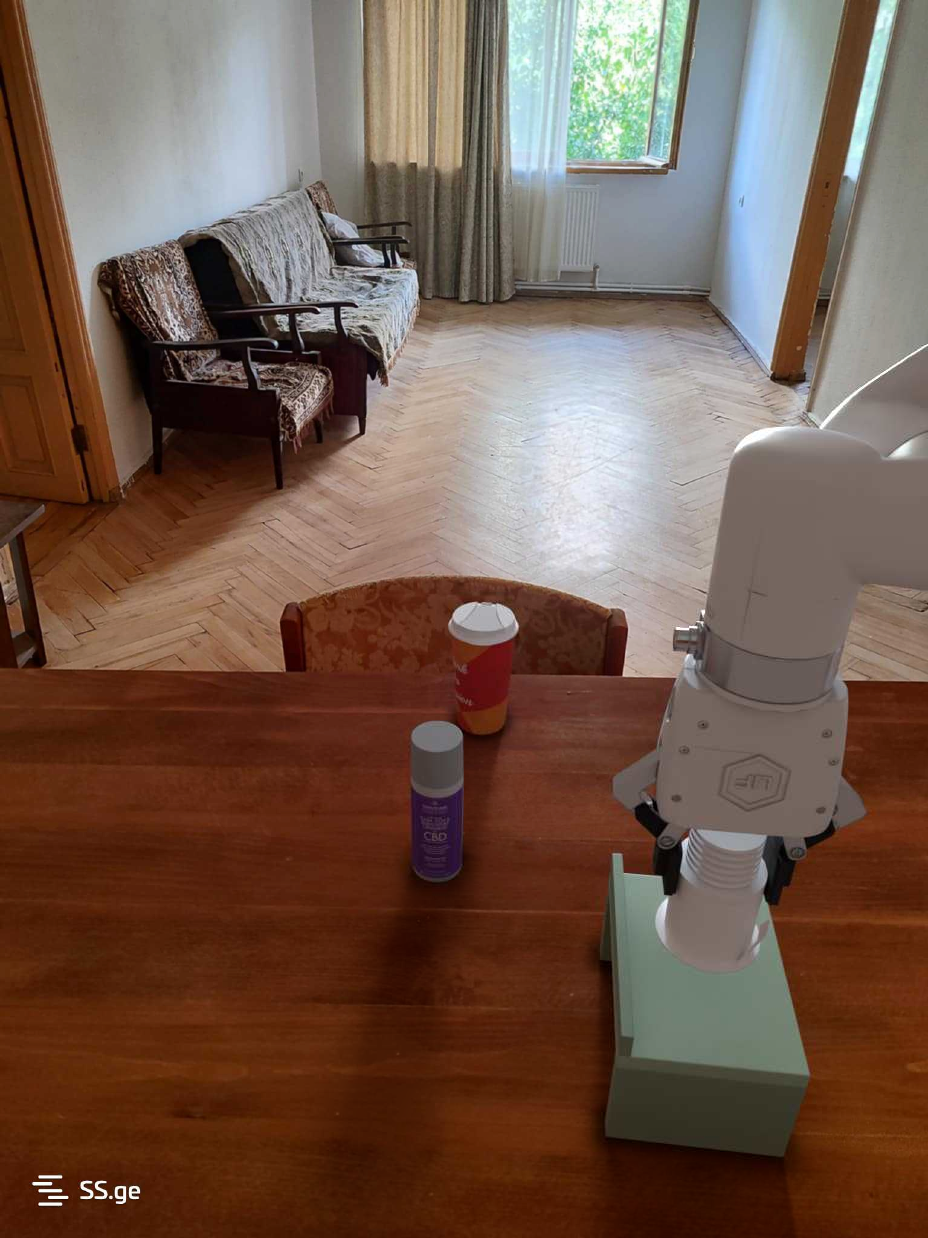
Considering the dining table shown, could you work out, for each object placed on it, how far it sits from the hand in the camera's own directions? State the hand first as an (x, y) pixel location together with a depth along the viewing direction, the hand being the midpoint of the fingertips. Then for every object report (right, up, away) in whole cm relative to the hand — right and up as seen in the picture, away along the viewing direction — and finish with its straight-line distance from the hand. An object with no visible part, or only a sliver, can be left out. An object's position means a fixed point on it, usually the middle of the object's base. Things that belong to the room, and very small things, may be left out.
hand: (717, 882), depth 58 cm
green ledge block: (0, -15, +9) cm, 17 cm away
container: (-19, -6, +25) cm, 32 cm away
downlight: (0, -4, +3) cm, 5 cm away
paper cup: (-15, +5, +44) cm, 47 cm away
